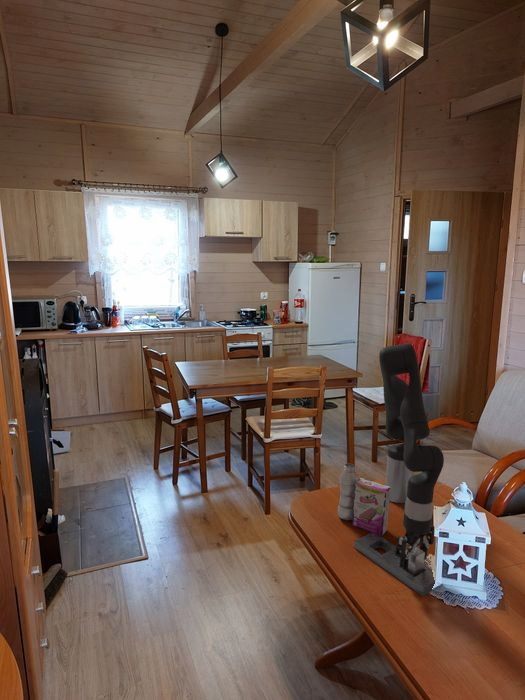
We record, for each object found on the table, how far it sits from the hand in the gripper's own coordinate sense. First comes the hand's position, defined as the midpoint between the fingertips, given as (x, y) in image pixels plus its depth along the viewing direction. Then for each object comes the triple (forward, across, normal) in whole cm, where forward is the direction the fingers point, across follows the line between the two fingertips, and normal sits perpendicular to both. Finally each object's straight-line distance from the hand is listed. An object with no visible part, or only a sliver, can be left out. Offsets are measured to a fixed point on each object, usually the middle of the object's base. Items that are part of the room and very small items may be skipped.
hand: (413, 563), depth 134 cm
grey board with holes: (+4, 0, -6) cm, 7 cm away
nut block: (+4, 0, 0) cm, 4 cm away
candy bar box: (+4, -8, -24) cm, 26 cm away
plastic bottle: (+4, -6, -33) cm, 34 cm away
